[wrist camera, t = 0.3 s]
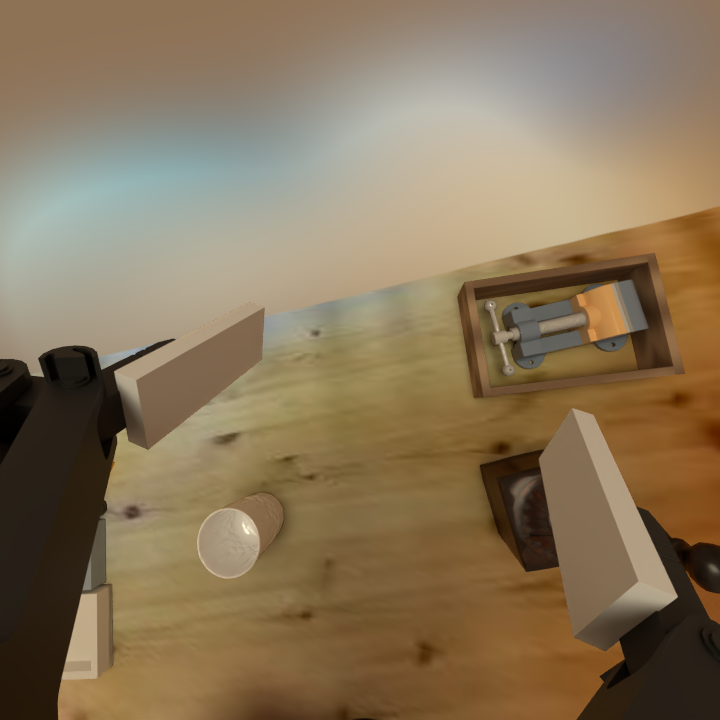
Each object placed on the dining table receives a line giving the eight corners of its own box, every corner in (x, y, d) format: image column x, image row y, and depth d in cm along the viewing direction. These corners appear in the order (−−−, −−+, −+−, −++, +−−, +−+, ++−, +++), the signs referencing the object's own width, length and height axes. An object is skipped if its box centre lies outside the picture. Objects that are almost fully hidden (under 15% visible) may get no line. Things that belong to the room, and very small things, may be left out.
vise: (604, 280, 48) (635, 261, 42) (627, 351, 47) (664, 342, 40) (476, 310, 50) (487, 296, 44) (495, 379, 49) (509, 375, 42)
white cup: (235, 489, 51) (195, 510, 41) (286, 486, 50) (257, 506, 41) (238, 545, 50) (197, 580, 40) (290, 542, 49) (261, 577, 39)
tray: (113, 664, 50) (97, 678, 48) (46, 666, 52) (28, 680, 49) (112, 584, 52) (96, 593, 49) (47, 588, 53) (29, 597, 50)
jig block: (105, 580, 52) (91, 589, 50) (53, 584, 53) (36, 593, 51) (105, 518, 53) (90, 524, 51) (53, 523, 54) (37, 529, 52)
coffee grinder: (502, 546, 46) (564, 637, 28) (477, 463, 47) (521, 500, 30) (621, 521, 44) (766, 600, 27) (591, 436, 46) (709, 457, 28)
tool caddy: (648, 377, 46) (684, 373, 40) (473, 397, 49) (483, 396, 43) (624, 271, 48) (654, 253, 42) (457, 296, 51) (464, 282, 45)
